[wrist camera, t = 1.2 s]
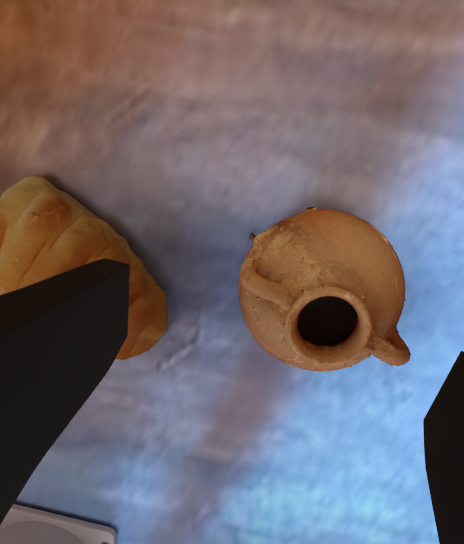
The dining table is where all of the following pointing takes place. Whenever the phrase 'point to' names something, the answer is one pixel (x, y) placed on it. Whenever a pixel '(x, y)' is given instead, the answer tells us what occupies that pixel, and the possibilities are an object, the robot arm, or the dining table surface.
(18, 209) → the pastry
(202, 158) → the dining table surface
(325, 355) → the pot
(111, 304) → the robot arm
